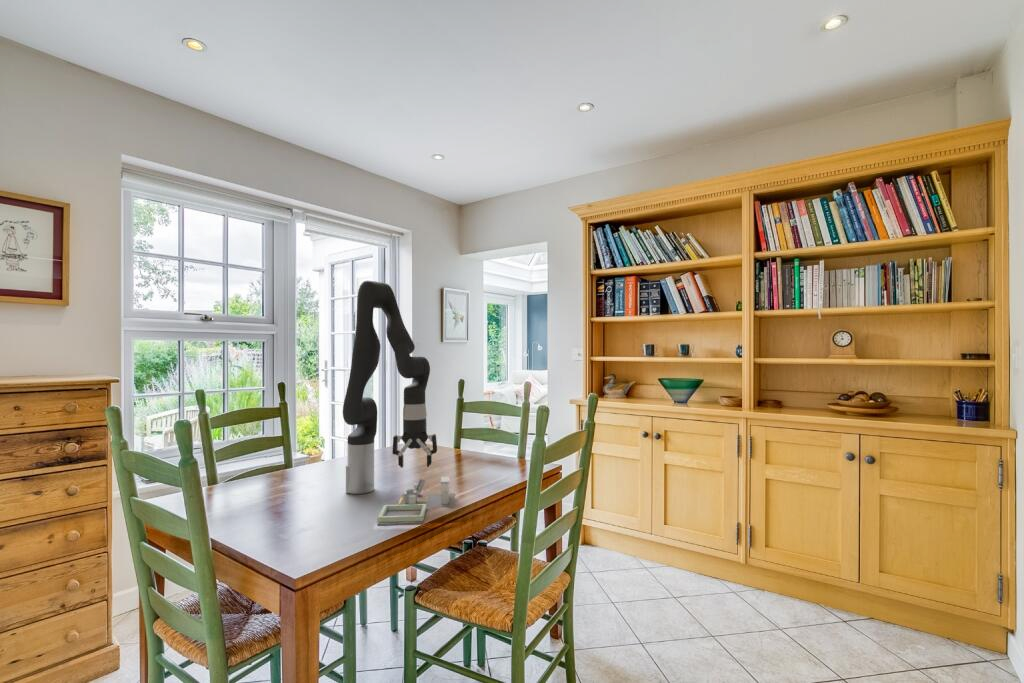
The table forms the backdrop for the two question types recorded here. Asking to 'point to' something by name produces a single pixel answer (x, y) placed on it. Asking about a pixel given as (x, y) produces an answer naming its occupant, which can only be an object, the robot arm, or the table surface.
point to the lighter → (412, 492)
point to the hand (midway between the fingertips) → (415, 466)
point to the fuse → (445, 485)
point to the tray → (401, 518)
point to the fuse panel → (433, 499)
